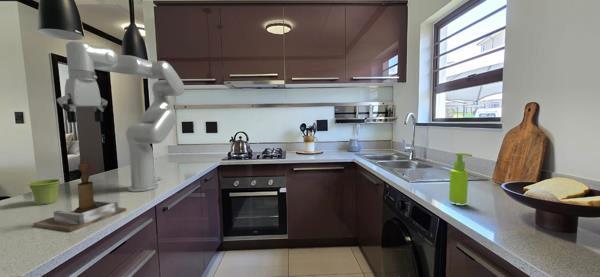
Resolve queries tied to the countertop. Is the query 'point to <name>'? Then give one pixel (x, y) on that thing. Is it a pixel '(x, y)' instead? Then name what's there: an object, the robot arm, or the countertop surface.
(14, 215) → the countertop surface
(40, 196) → the plant pot
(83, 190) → the wooden chess pawn
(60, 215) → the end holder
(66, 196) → the countertop surface
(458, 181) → the soap dispenser
